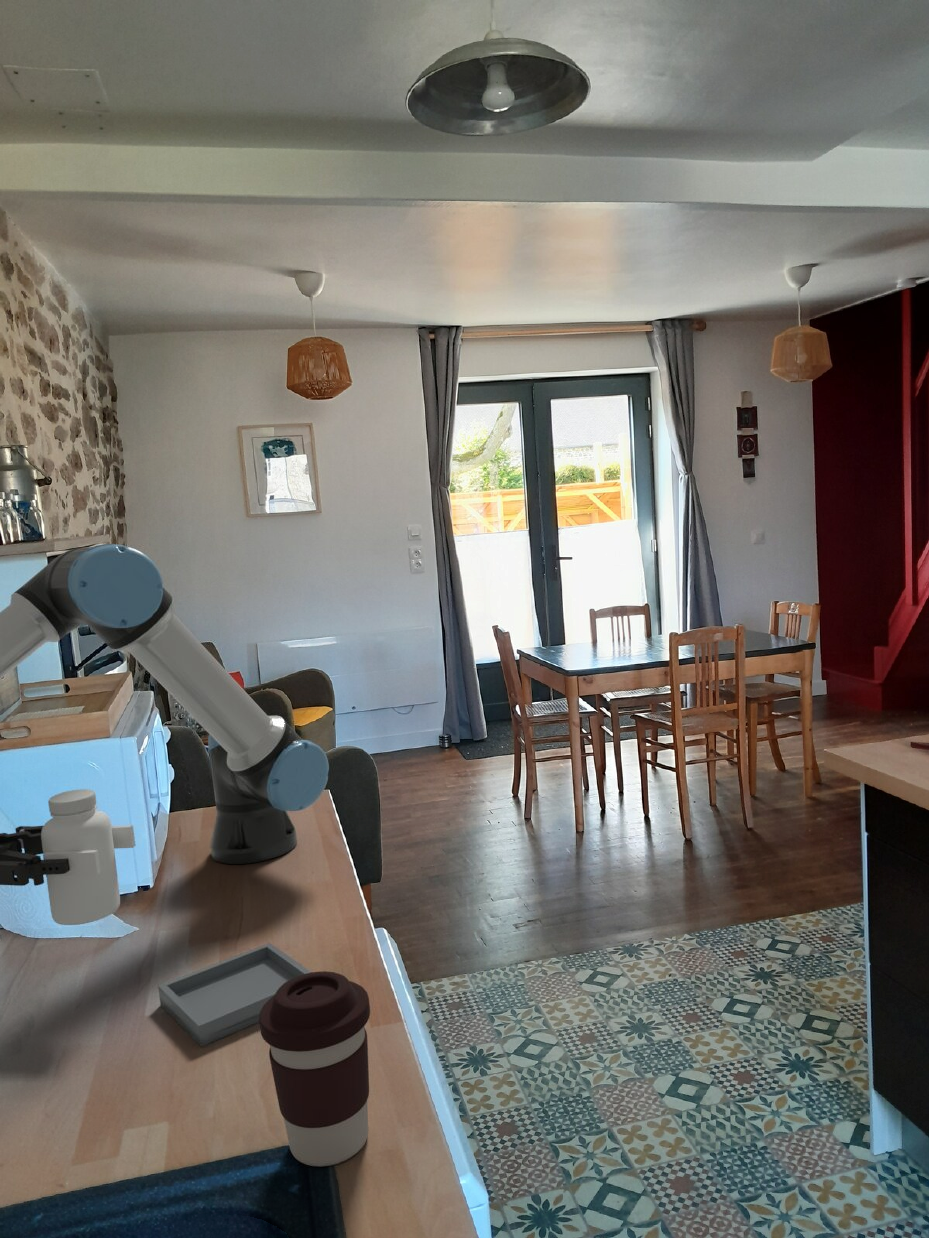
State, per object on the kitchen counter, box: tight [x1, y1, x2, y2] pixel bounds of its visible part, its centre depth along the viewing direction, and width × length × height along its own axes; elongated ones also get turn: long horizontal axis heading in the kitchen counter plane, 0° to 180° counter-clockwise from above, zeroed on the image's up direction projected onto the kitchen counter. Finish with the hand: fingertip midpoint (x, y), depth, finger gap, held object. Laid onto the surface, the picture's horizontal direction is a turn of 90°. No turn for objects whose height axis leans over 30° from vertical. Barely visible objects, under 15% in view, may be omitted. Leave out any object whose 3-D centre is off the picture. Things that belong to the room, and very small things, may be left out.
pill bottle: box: [41, 788, 121, 926], centre depth 113 cm, size 8×8×15 cm
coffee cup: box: [258, 970, 371, 1167], centre depth 85 cm, size 10×10×15 cm
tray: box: [157, 942, 312, 1048], centre depth 113 cm, size 15×13×2 cm
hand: (115, 848), depth 113 cm, fingers closed on pill bottle, 8 cm apart
